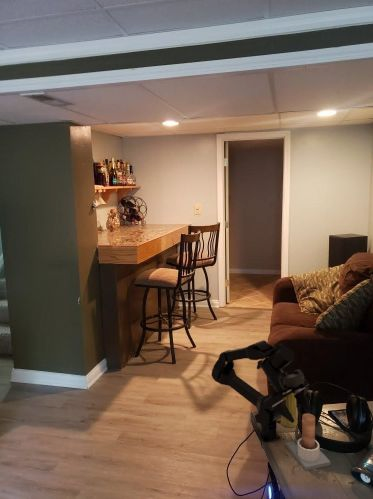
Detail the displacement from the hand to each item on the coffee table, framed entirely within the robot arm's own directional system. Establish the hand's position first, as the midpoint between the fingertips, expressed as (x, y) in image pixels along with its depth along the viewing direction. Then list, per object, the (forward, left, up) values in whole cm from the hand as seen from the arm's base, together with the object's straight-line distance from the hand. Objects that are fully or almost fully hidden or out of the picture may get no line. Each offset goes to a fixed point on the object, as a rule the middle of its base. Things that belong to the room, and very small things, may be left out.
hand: (301, 416), depth 129 cm
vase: (-18, +5, -14) cm, 23 cm away
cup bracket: (+1, +2, -14) cm, 14 cm away
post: (+2, +1, -12) cm, 12 cm away
